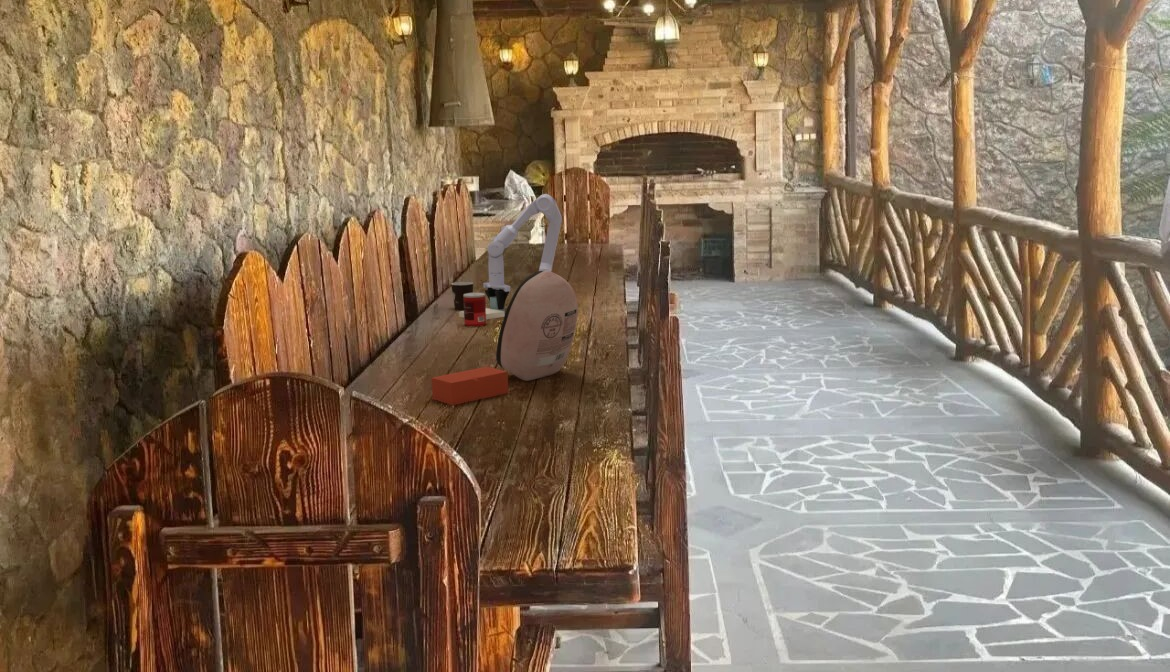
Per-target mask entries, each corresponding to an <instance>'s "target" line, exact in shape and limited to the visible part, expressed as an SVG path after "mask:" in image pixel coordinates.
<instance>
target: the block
mask: <svg viewBox="0 0 1170 672" xmlns="http://www.w3.org/2000/svg"><path fill="white" fill-rule="evenodd" d="M489 309H495V310H499V309H498V304H497V298H496V296H495V297H490V302H489ZM500 311H504V313H506V304H505V305H504V309H501V310H500Z"/></svg>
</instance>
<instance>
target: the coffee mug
mask: <svg viewBox="0 0 1170 672" xmlns="http://www.w3.org/2000/svg"><path fill="white" fill-rule="evenodd" d="M450 285H451V292H452V293H451V294H452V298H453V306H454V310H455V311H464V300H463V296H464V294H467V293H474V282H471V281H459V282H452V283H450Z"/></svg>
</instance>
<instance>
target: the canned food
mask: <svg viewBox="0 0 1170 672" xmlns="http://www.w3.org/2000/svg"><path fill="white" fill-rule="evenodd" d="M463 300H464V310H463V311H464V318H463V320H464V326H466V327H469V326H477V327H482V326H483V325H484V326H485V325H487V324H486V323H487V319H486V308H487V307H486V306H487V305H486V304H487V303H486V293H484V292H473V293H467V294H464V296H463Z"/></svg>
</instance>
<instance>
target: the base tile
mask: <svg viewBox="0 0 1170 672" xmlns="http://www.w3.org/2000/svg"><path fill="white" fill-rule="evenodd" d="M505 313H506V312H505ZM505 313H504V311H500V310H495V309H490V307H488V308H487V307H486V320H491V319H492V320H493V319H497V318H498V319H499V318H504V316H505ZM458 317H459V318H463V319H464V310H459V311H458Z"/></svg>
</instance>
